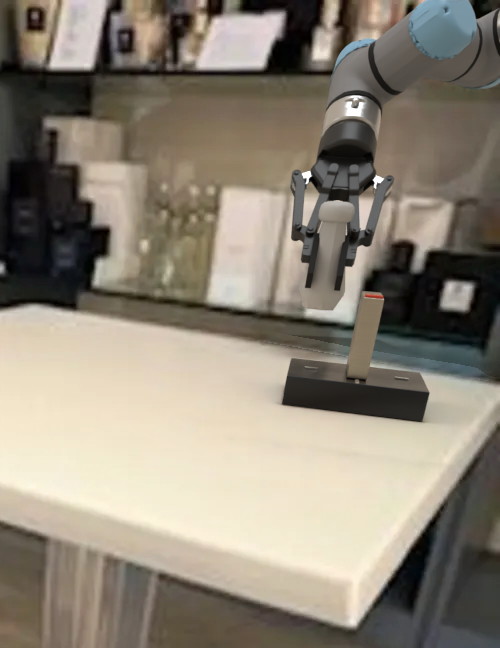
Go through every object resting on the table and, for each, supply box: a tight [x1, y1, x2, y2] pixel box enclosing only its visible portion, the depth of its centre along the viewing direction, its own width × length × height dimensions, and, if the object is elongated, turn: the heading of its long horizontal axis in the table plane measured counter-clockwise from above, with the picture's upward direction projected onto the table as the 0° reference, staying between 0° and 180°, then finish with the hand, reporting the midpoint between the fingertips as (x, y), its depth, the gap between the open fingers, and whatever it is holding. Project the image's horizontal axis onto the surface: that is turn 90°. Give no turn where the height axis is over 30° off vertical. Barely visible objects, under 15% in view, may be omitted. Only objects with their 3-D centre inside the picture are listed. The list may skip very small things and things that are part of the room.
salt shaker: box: [298, 200, 354, 312], centre depth 114 cm, size 6×6×13 cm
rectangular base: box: [281, 357, 431, 422], centre depth 94 cm, size 14×11×3 cm
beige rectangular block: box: [346, 290, 385, 380], centre depth 92 cm, size 6×2×8 cm, turn 163°
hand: (323, 281), depth 112 cm, fingers closed on salt shaker, 3 cm apart
